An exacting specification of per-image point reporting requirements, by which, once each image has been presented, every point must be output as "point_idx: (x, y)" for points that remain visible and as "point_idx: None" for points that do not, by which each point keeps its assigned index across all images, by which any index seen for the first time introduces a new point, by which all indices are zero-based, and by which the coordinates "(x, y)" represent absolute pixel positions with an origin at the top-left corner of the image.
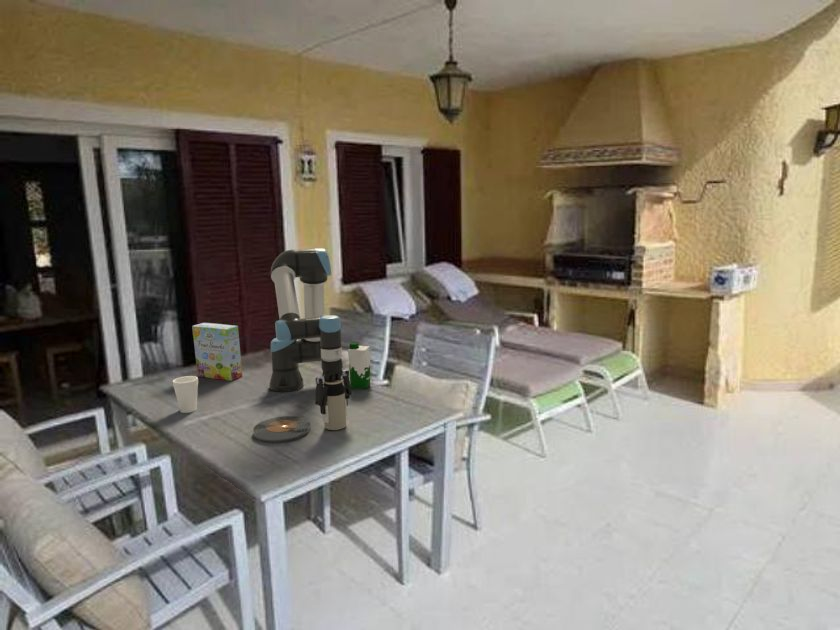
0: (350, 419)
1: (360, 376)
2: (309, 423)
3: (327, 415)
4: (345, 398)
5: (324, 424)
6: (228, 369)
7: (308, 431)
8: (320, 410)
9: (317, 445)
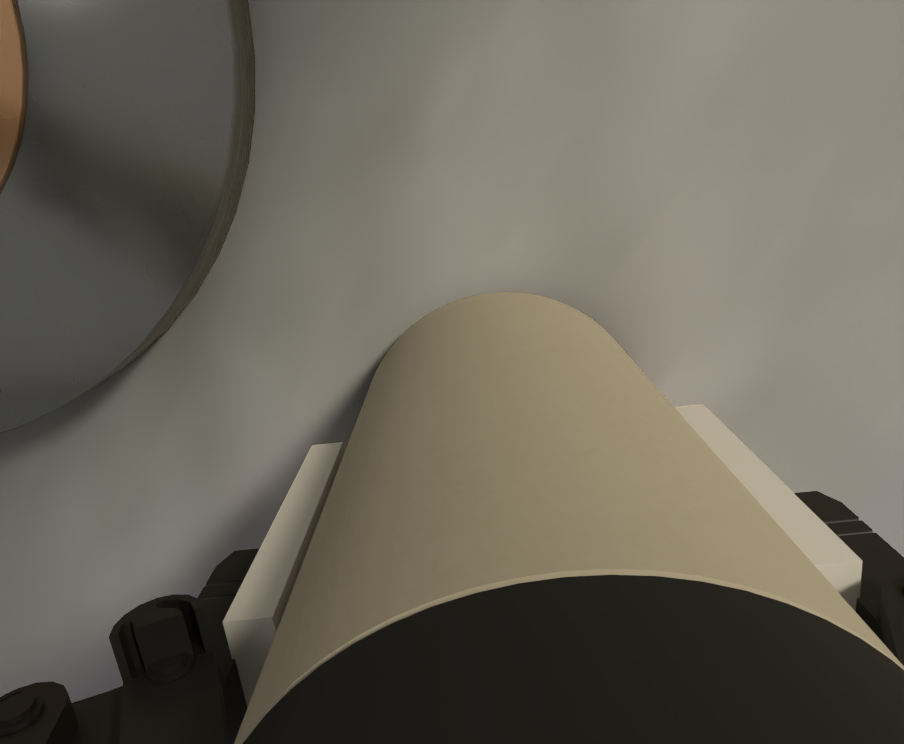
0: (799, 336)
1: None
2: (195, 241)
3: None
4: None
5: (370, 386)
6: None
7: (146, 346)
8: (202, 592)
9: (102, 686)
